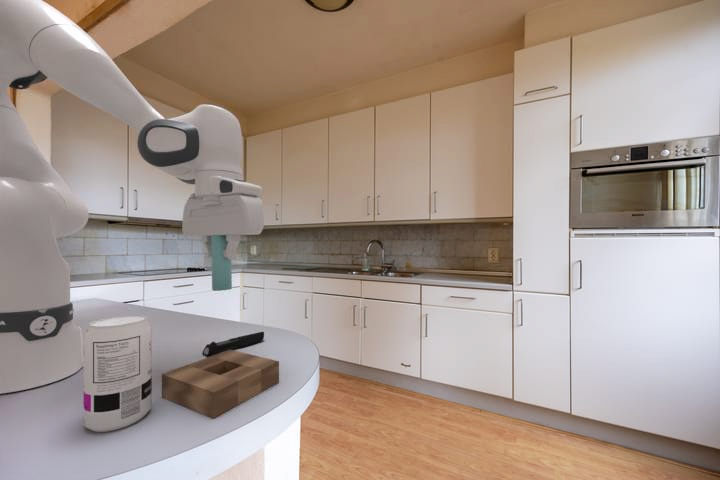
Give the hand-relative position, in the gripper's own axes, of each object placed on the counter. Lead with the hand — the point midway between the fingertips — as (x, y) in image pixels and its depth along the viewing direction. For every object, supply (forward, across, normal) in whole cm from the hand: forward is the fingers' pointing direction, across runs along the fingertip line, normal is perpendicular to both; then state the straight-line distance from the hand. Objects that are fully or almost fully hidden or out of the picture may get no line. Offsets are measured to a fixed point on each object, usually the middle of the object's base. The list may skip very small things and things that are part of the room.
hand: (221, 258), depth 62 cm
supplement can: (+24, -2, -17) cm, 29 cm away
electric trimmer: (+24, -12, +13) cm, 30 cm away
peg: (+6, 0, 0) cm, 6 cm away
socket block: (+24, +4, -4) cm, 24 cm away
